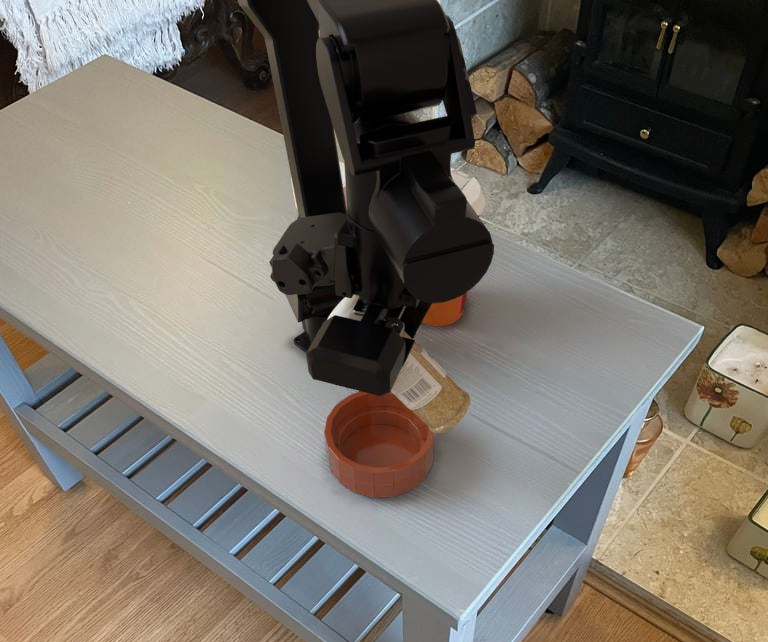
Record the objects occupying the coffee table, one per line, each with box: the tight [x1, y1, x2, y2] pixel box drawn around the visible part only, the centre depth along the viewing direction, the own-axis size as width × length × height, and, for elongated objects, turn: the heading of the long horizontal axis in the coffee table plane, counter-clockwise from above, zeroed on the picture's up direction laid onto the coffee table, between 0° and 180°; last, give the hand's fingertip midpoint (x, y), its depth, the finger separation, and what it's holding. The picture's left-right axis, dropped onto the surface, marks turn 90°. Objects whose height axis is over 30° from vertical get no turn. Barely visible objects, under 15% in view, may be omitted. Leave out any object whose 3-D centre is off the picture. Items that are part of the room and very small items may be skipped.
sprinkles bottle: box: [327, 295, 471, 434], centre depth 66 cm, size 5×5×14 cm
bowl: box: [323, 391, 436, 498], centre depth 77 cm, size 10×10×4 cm
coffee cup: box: [422, 167, 486, 327], centre depth 84 cm, size 8×8×15 cm
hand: (390, 370), depth 67 cm, fingers closed on sprinkles bottle, 4 cm apart
